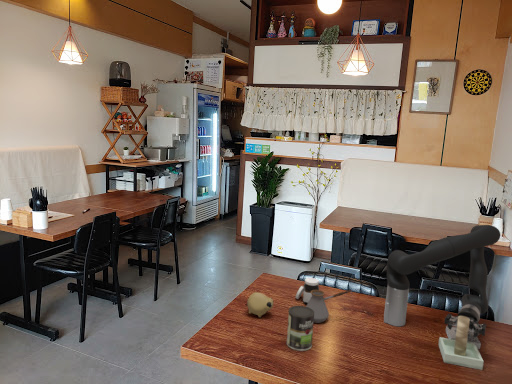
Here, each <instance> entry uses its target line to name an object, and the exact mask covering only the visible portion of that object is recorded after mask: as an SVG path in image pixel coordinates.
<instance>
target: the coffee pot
mask: <svg viewBox="0 0 512 384" xmlns="http://www.w3.org/2000/svg"><path fill="white" fill-rule="evenodd" d="M348 293H351V294H353V292H352V290H351V289H350V290H345V291H340V292H338V293H336V294H334V295H333V294H332V295H330V296H326V297H324V296H325V291H323V290H320V289H319V290H312V291H311V294H312V297H311V298H310V300H309V302H308V304H306V306H305V307H309V308H311V309H312V310H313V311H314V321H313V324H314V323H316V324H322V323H323V322H325V321H326V320H327V319H328V318H329V316H330V314H329V310H328V308H327V305H326V302H325V301H326V300H328V299H332V298H335V297H339V296H344V295H345V294H348Z"/></svg>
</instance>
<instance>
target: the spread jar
mask: <svg viewBox="0 0 512 384" xmlns="http://www.w3.org/2000/svg"><path fill="white" fill-rule="evenodd" d="M319 281H320V280H319V279H317V278H314V277H307V278H305V279H304V284H303V285H301V286H300V287H299V289H298V290H297V292H296V294H295V297H294V298H295V299H296V300H299V299H300V297H301V296H302V302H303V304H305V305H307V304H308V302H309V300H310V298H311V297H312V294H311V291H312V290H320V286H319V283H320V282H319Z"/></svg>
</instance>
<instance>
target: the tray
mask: <svg viewBox="0 0 512 384" xmlns="http://www.w3.org/2000/svg"><path fill="white" fill-rule="evenodd" d="M454 347H455V340H453V339H448V337H441V336H439V338H438V348H439V351H440V354H441V356H442V360H443V363H445V364H449V365H450V364H451V365H455V366H461V367H465V368H470V369H475V370H480V371H483V369H484V360H483V358H482V355H481V353H480V350H479V349H477V347H476V345H475V343H470V342H467V347H466V355H465V356H460V355H455V354H454Z"/></svg>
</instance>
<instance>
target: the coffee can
mask: <svg viewBox="0 0 512 384" xmlns="http://www.w3.org/2000/svg"><path fill="white" fill-rule="evenodd" d="M287 317H288V319H287V331H286V332H287V333H286V335H287V336H286V345H287V347H288V348H290V349H291V350H294V351H297V352H304V351H305V352H306V351H309V350H310V349H312V346H313V332H314V322H313V321H314V311H313V310H312V309H311V308H309V307H306V306H304V305H294V306H291V307H289V308H288V316H287Z"/></svg>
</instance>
